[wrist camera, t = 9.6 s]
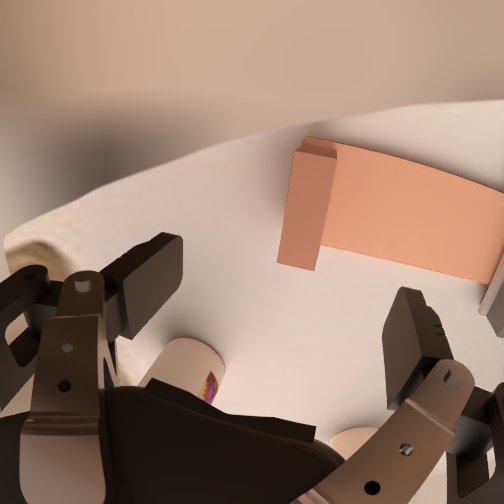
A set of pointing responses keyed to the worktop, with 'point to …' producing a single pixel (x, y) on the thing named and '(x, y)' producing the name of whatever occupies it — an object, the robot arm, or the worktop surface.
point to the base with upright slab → (351, 440)
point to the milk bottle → (188, 368)
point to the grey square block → (495, 301)
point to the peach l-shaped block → (389, 212)
